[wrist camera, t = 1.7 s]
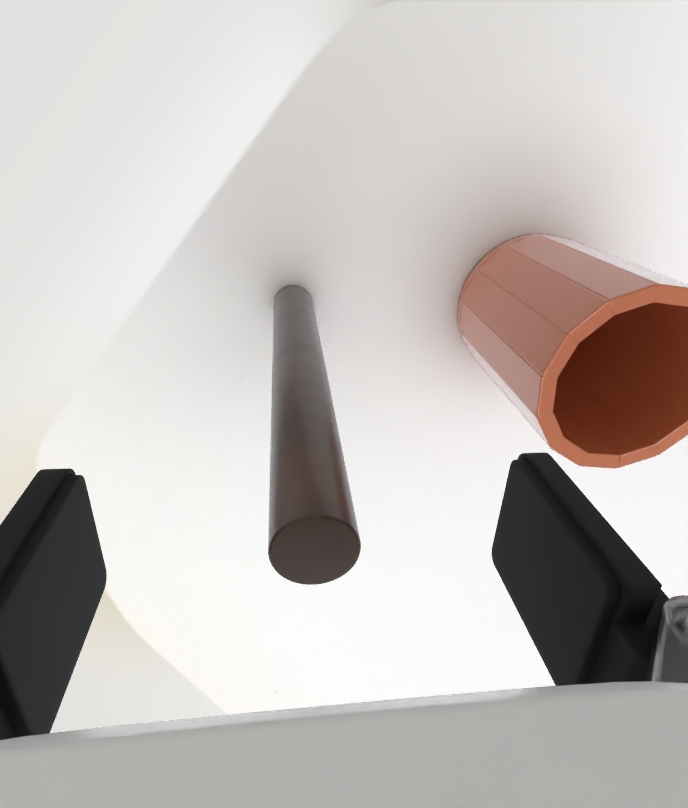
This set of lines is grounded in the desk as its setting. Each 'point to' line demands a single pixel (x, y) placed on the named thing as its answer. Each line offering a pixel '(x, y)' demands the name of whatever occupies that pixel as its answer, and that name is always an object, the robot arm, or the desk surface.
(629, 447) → the crock
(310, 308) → the stick
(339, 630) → the desk surface
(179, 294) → the desk surface
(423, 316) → the desk surface
